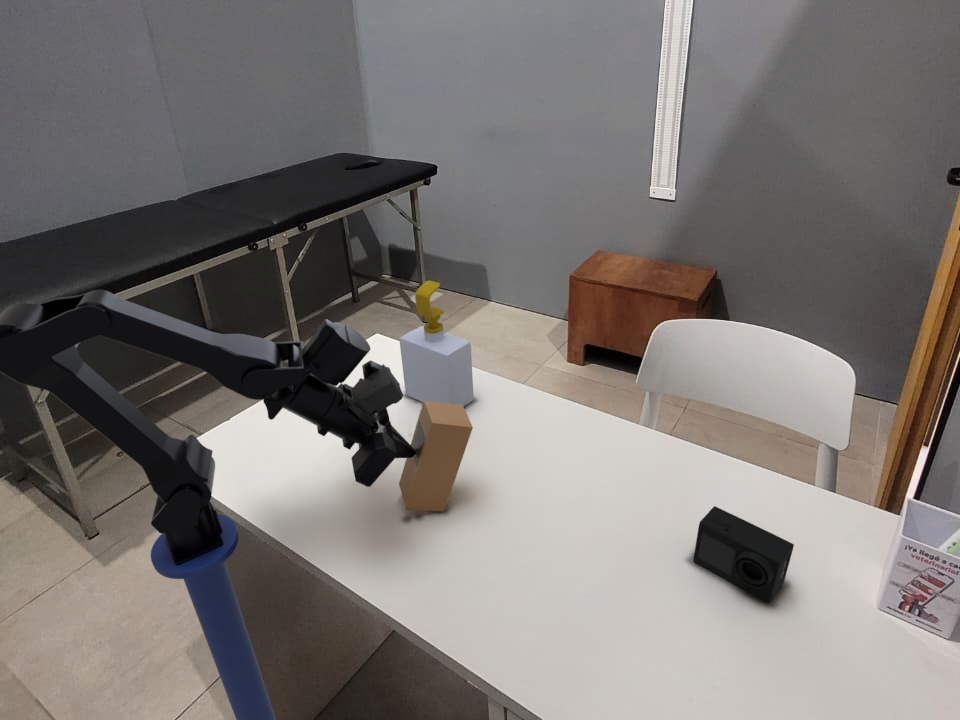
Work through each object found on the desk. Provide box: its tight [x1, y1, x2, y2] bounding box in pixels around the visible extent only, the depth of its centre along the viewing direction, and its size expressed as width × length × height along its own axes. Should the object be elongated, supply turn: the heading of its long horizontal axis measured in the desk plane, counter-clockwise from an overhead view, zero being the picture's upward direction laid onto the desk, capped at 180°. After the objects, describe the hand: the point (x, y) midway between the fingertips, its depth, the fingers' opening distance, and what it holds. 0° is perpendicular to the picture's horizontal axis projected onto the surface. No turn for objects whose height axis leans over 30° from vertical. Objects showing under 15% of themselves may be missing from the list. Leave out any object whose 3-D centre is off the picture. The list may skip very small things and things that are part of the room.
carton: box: [398, 400, 473, 512], centre depth 95 cm, size 6×6×15 cm
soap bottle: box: [399, 279, 474, 408], centre depth 118 cm, size 12×7×23 cm, turn 51°
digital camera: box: [692, 505, 795, 604], centre depth 82 cm, size 10×5×7 cm, turn 46°
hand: (413, 453), depth 93 cm, fingers closed
